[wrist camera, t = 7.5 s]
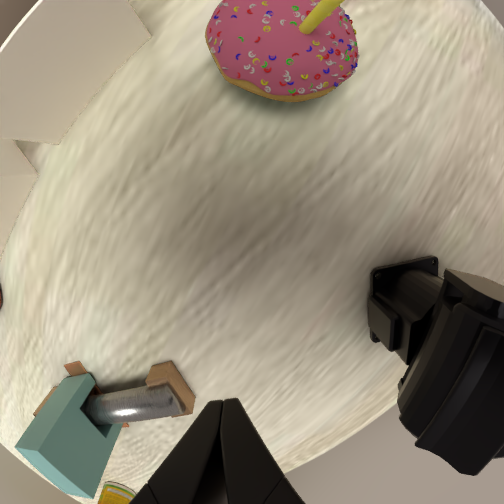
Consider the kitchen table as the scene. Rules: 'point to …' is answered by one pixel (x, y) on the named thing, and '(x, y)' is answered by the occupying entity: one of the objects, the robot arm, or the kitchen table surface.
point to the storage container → (55, 81)
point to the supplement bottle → (115, 494)
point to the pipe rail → (136, 398)
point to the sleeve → (69, 440)
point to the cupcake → (283, 46)
